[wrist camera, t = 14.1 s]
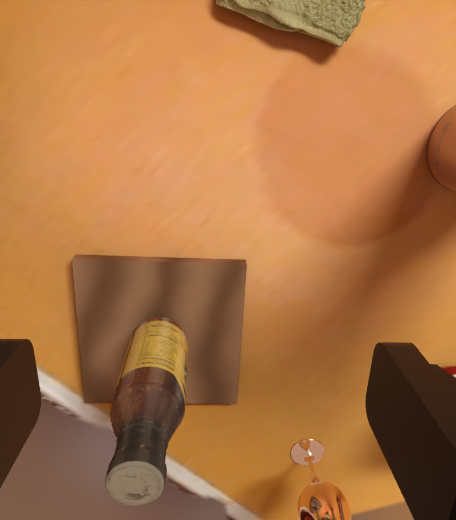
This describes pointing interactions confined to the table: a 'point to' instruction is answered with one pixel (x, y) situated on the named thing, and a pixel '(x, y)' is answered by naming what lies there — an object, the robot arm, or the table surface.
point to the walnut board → (160, 305)
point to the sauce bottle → (147, 410)
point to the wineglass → (318, 487)
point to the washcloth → (304, 16)
